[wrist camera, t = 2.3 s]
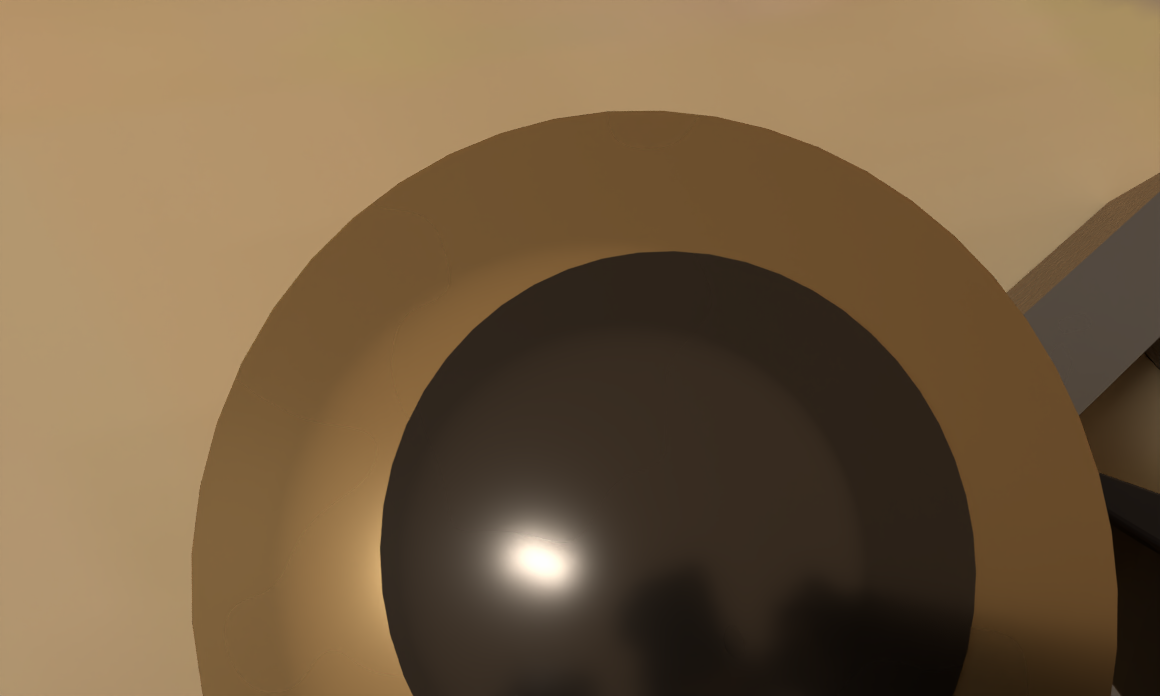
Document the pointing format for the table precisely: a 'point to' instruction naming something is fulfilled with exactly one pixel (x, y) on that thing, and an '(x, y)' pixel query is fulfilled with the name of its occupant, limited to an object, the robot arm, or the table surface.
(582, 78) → the table surface
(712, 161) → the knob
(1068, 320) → the frame
